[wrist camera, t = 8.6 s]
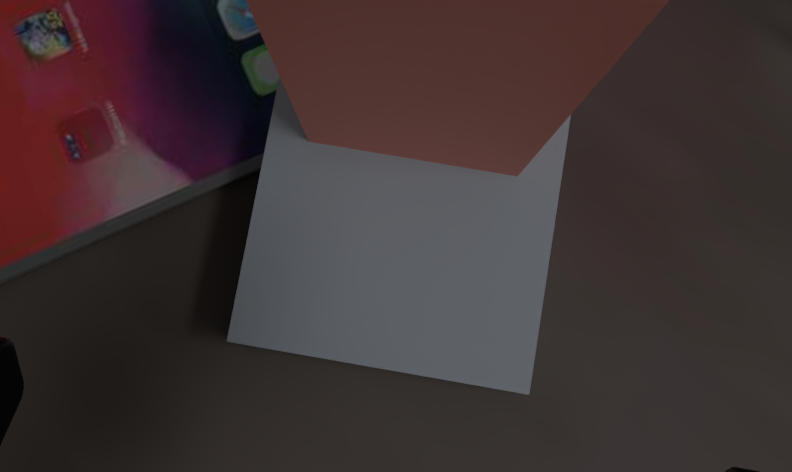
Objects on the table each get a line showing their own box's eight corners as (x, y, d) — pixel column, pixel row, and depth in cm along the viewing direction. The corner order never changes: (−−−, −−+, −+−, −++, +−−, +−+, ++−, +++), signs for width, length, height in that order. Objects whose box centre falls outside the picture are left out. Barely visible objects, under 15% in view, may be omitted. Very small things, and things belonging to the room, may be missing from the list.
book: (517, 176, 17) (691, -26, 7) (308, 141, 17) (197, -107, 7) (535, 55, 18) (725, -295, 8) (330, 21, 18) (255, -371, 8)
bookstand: (521, 390, 18) (689, 474, 8) (235, 340, 18) (41, 360, 8) (585, -36, 19) (798, -430, 9) (318, -81, 19) (242, -521, 9)
